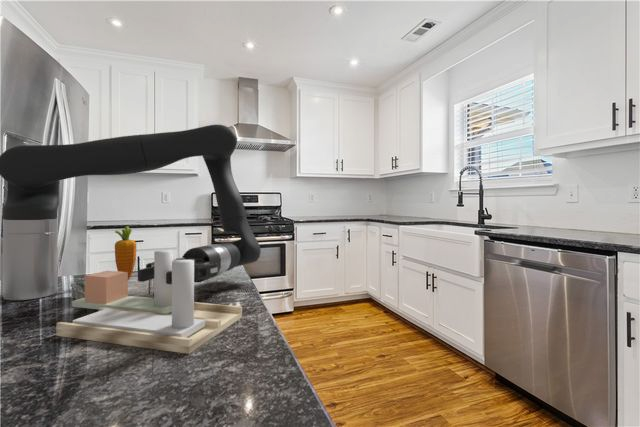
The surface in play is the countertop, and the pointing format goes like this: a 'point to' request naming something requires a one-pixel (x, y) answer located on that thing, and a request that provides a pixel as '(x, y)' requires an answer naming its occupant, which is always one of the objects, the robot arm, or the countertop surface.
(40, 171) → the robot arm
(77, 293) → the egg carton
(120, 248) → the carrot
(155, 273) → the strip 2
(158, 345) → the board
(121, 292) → the cube
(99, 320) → the strip
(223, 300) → the countertop surface
